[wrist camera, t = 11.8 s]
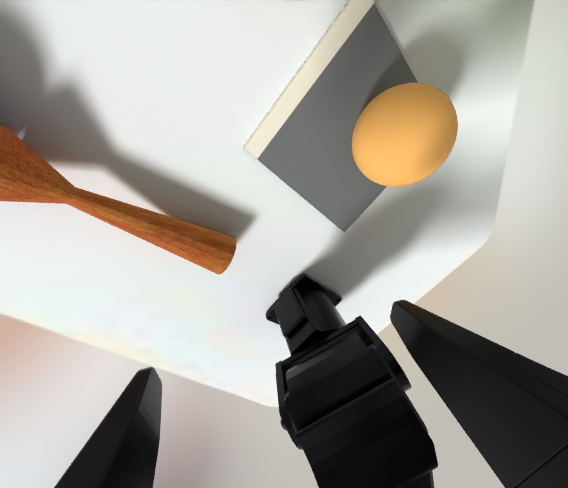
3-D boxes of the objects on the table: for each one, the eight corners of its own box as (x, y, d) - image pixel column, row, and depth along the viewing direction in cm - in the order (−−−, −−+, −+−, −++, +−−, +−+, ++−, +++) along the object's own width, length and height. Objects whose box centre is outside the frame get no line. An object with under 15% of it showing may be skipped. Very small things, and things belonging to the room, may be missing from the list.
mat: (243, 147, 17) (244, 148, 17) (359, -14, 15) (363, -18, 14) (342, 230, 23) (344, 232, 23) (438, 126, 21) (442, 126, 20)
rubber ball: (385, 158, 22) (459, 96, 17) (400, 215, 19) (496, 158, 14) (330, 124, 19) (400, 38, 14) (336, 184, 16) (429, 100, 11)
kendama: (207, 305, 19) (-359, 167, 8) (208, 254, 23) (-153, 120, 12) (249, 255, 16) (-488, -45, 5) (242, 209, 21) (-172, -8, 10)
